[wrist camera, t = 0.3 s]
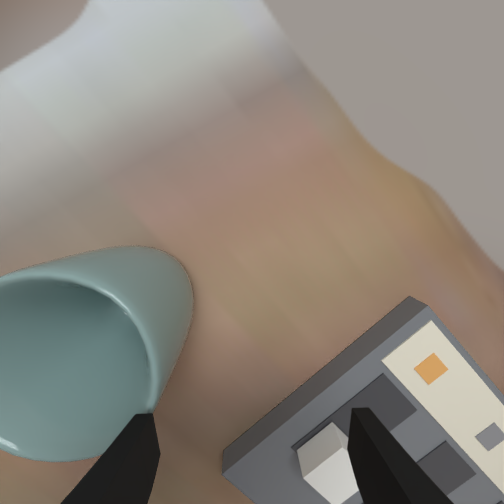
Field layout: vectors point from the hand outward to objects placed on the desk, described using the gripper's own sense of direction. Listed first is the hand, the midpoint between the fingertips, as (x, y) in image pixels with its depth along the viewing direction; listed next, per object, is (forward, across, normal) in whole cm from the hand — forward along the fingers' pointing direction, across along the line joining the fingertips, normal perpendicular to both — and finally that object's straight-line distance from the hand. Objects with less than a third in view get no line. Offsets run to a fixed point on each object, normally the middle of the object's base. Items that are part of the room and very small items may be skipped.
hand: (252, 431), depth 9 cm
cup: (+11, +8, -1) cm, 13 cm away
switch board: (+9, -13, +16) cm, 22 cm away
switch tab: (+7, -6, +11) cm, 14 cm away
